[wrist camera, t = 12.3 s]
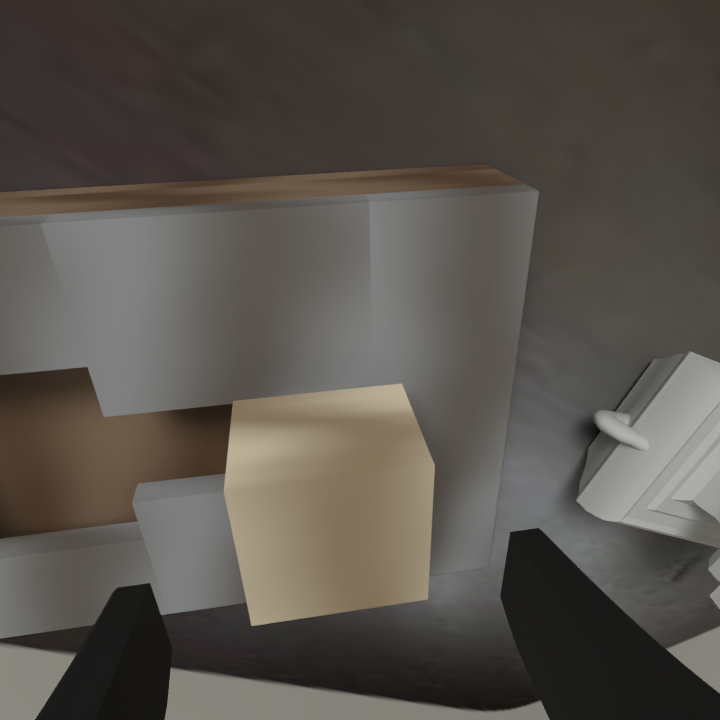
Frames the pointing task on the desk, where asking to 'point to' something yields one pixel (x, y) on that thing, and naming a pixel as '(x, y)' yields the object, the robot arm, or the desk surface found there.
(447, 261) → the keyhole base
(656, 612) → the desk surface
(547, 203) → the desk surface
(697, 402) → the stamp
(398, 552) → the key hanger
